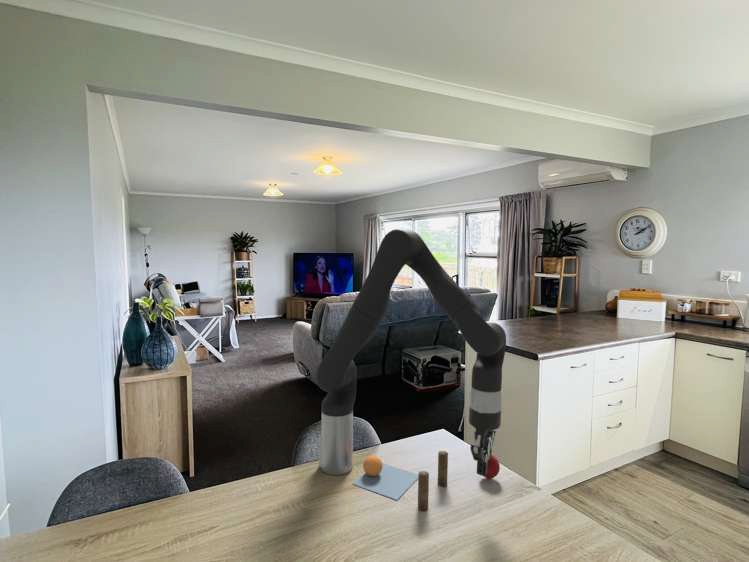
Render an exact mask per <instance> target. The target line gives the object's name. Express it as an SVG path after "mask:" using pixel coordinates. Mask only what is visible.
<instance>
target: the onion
mask: <svg viewBox="0 0 749 562" xmlns="http://www.w3.org/2000/svg"><path fill="white" fill-rule="evenodd" d="M492 453H493V452H491V454H489V459H487V460H488V467H487V474H486V475H485V476H483V477H484V478H485V479H486V480H491V479H493V478H495V477H497V476H498V474H499V473H500V470H501V469H500V468H501V467H500V463H499V460H498V459H497V457H496V456H494V455H493V454H492Z"/></svg>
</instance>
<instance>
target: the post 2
mask: <svg viewBox="0 0 749 562" xmlns="http://www.w3.org/2000/svg"><path fill="white" fill-rule="evenodd" d="M437 455H438V457H437V459H438V460H437V486H438V487H440V488H445V487H448V470H449V469H448V467H449V466H448V465H449V463H448V462H449V461H448V460H449V453H448V452H447V451H446V450H439V451H438V454H437Z"/></svg>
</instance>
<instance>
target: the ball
mask: <svg viewBox="0 0 749 562" xmlns="http://www.w3.org/2000/svg"><path fill="white" fill-rule="evenodd" d="M382 463H383V462H382V459H381V458H380V457H379V456H377V455H372V454H371V455H369V456H367V457H366V458H365V459H364V461H363V465H362V467H363V471H364V474H365V473H366V474H367V475H369V476H377V475H378V474H379V473H380V472H381V471H382Z"/></svg>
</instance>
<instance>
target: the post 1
mask: <svg viewBox="0 0 749 562" xmlns="http://www.w3.org/2000/svg"><path fill="white" fill-rule="evenodd" d="M417 474H418V479H417V509H418V511H420V512H427V511H428V510H429V488H430V487H429V485H430V483H429V482H430V478H429V477H430V474H429V472H428V471H424V470H421V471H419V472H418V473H417Z"/></svg>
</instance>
